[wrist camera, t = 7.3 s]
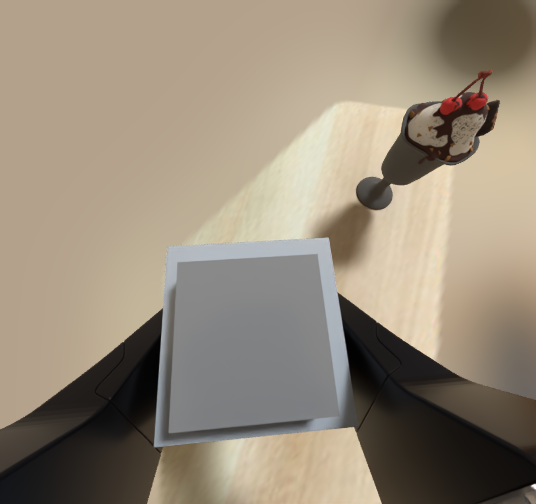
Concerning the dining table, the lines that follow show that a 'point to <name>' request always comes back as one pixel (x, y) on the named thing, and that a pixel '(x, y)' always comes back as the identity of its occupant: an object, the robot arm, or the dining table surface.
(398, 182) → the sundae
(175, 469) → the dining table surface
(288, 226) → the dining table surface
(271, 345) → the grey rectangular block
